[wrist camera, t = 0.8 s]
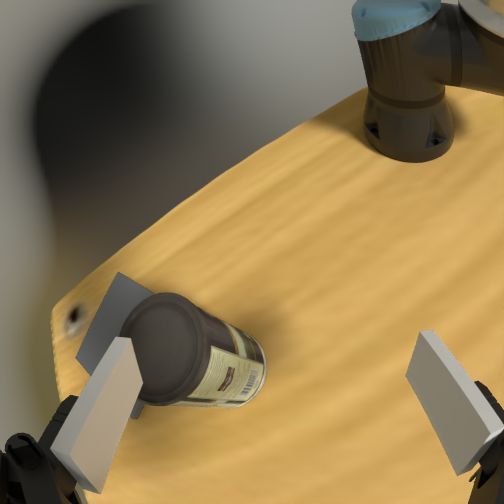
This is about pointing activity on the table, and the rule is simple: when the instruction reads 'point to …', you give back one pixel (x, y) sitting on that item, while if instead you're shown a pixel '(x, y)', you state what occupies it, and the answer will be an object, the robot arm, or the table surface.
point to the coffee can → (192, 355)
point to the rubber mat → (111, 324)
